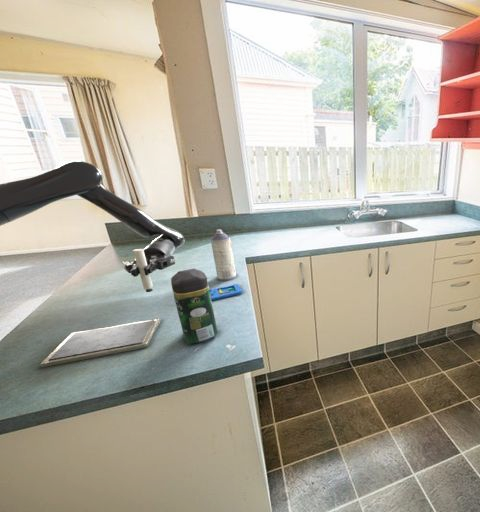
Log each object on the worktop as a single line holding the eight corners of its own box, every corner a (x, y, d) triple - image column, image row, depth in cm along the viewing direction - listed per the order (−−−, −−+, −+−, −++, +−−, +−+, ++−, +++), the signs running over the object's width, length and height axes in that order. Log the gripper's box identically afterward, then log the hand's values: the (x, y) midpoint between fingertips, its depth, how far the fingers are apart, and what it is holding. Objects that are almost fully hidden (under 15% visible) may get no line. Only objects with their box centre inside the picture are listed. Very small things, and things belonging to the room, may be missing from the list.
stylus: (143, 293, 87) (132, 251, 83) (146, 290, 89) (135, 249, 85) (152, 292, 88) (141, 250, 83) (155, 289, 90) (144, 248, 85)
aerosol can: (239, 276, 122) (232, 229, 116) (223, 281, 117) (215, 232, 111) (230, 273, 126) (222, 227, 120) (214, 278, 120) (205, 230, 114)
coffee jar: (182, 332, 83) (167, 270, 77) (213, 323, 88) (202, 264, 82) (186, 348, 76) (170, 282, 70) (220, 338, 80) (208, 274, 75)
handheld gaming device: (191, 292, 104) (237, 282, 113) (192, 295, 105) (237, 285, 113) (194, 301, 98) (242, 290, 107) (194, 304, 98) (242, 293, 107)
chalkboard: (41, 367, 68) (39, 363, 68) (72, 336, 81) (71, 332, 80) (147, 347, 76) (145, 343, 76) (160, 321, 88) (159, 317, 88)
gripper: (127, 246, 94) (105, 263, 79) (178, 242, 100) (166, 257, 85) (133, 268, 97) (112, 288, 82) (183, 263, 102) (172, 281, 87)
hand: (140, 272), depth 83 cm, fingers closed on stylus, 2 cm apart
